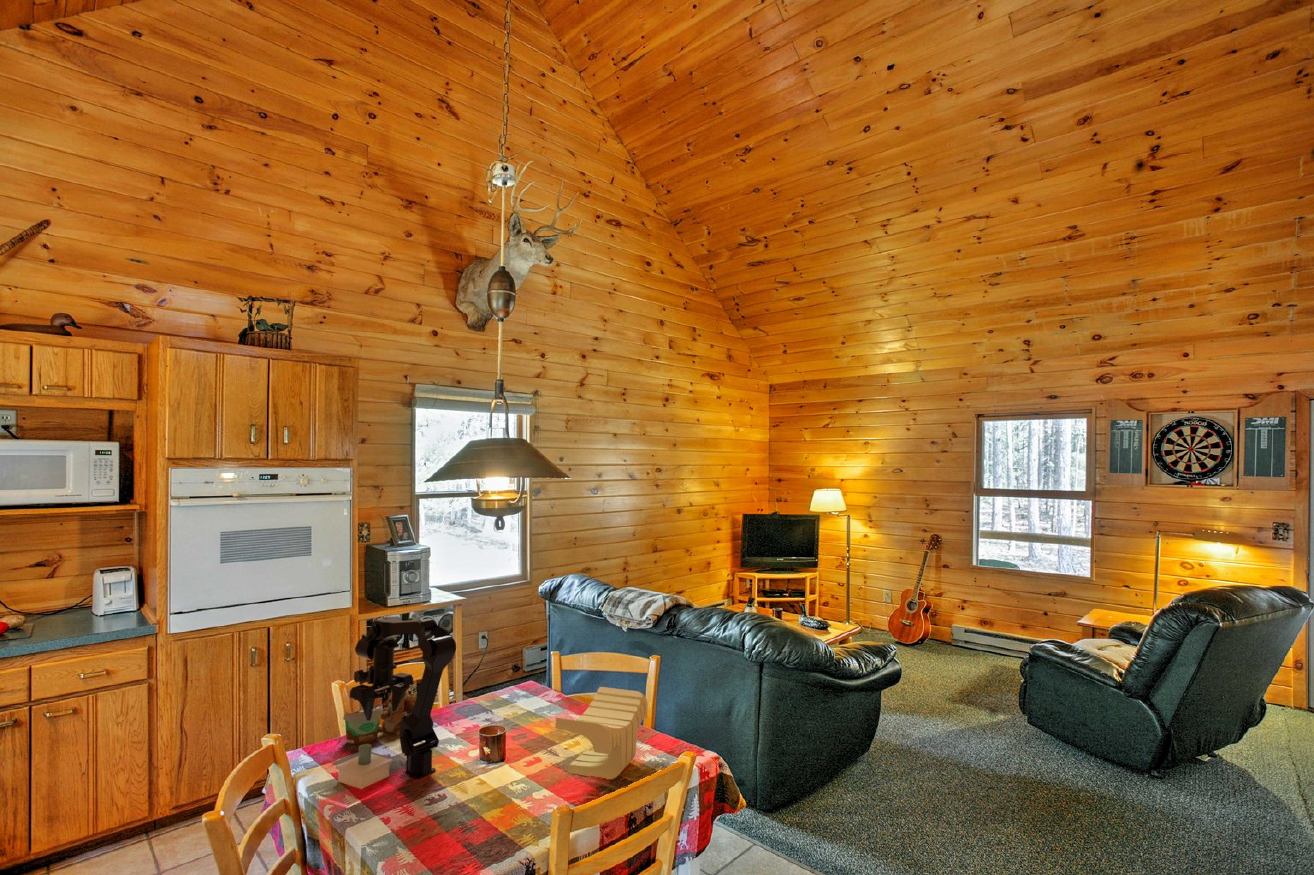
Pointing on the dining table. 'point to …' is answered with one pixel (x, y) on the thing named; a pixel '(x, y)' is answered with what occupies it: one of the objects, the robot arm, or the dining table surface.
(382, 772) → the dish
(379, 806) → the dining table surface
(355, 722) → the food container
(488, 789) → the dining table surface
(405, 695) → the stuffed squirrel
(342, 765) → the lid
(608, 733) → the slatted curved stool
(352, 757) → the mat
